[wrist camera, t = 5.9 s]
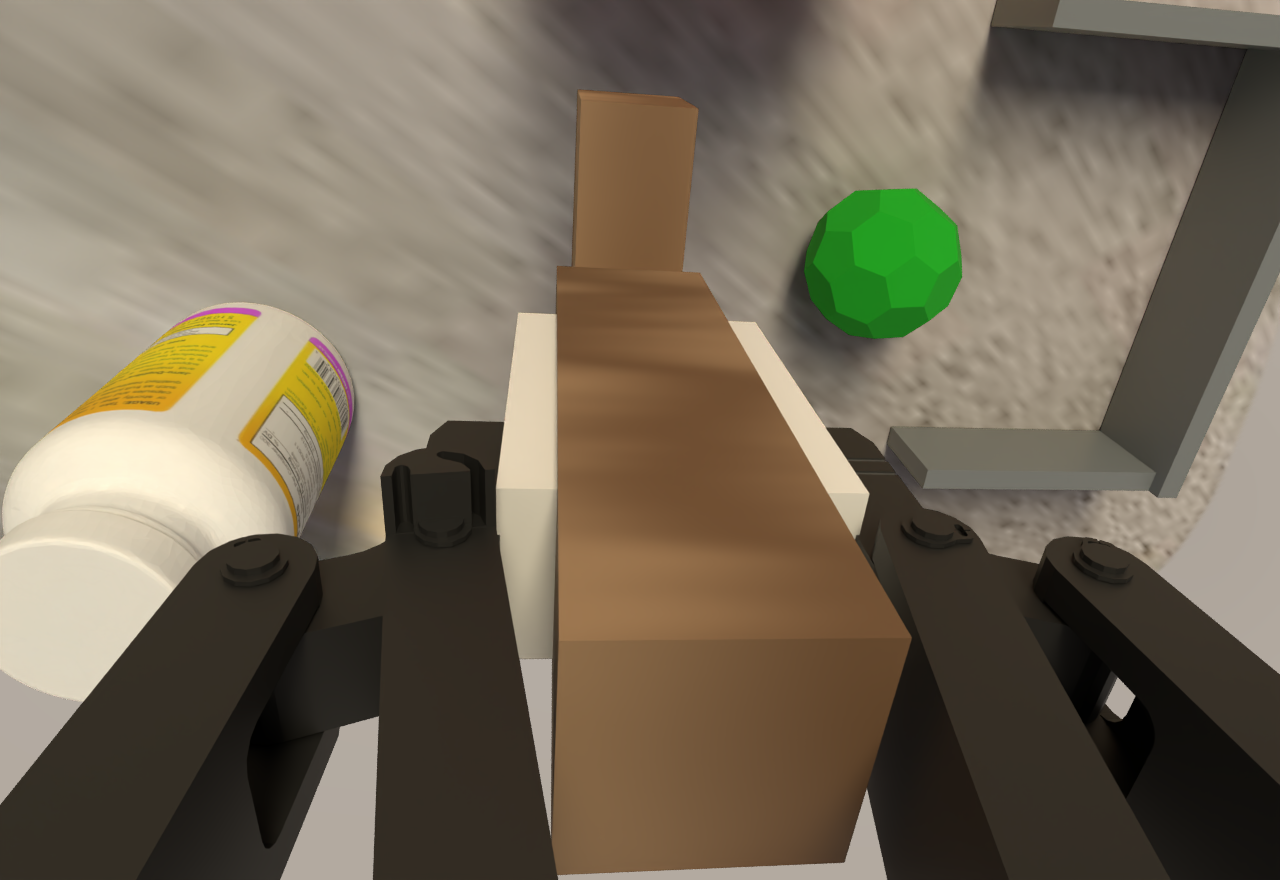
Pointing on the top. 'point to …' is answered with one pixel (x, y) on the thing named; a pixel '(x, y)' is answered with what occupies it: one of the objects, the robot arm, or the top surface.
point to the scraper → (692, 555)
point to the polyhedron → (883, 263)
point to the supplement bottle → (163, 484)
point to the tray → (1184, 294)
